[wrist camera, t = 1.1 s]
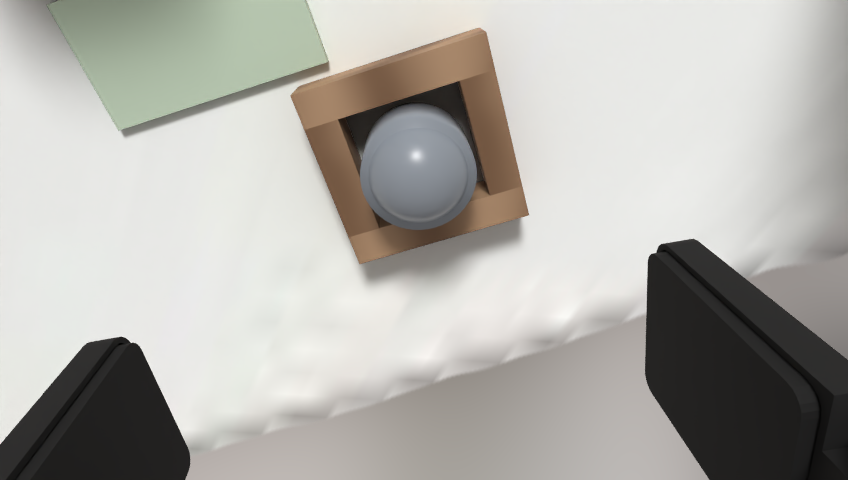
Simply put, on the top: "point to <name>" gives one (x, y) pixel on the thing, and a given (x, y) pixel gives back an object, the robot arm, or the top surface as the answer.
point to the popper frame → (396, 80)
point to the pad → (184, 49)
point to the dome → (417, 167)
